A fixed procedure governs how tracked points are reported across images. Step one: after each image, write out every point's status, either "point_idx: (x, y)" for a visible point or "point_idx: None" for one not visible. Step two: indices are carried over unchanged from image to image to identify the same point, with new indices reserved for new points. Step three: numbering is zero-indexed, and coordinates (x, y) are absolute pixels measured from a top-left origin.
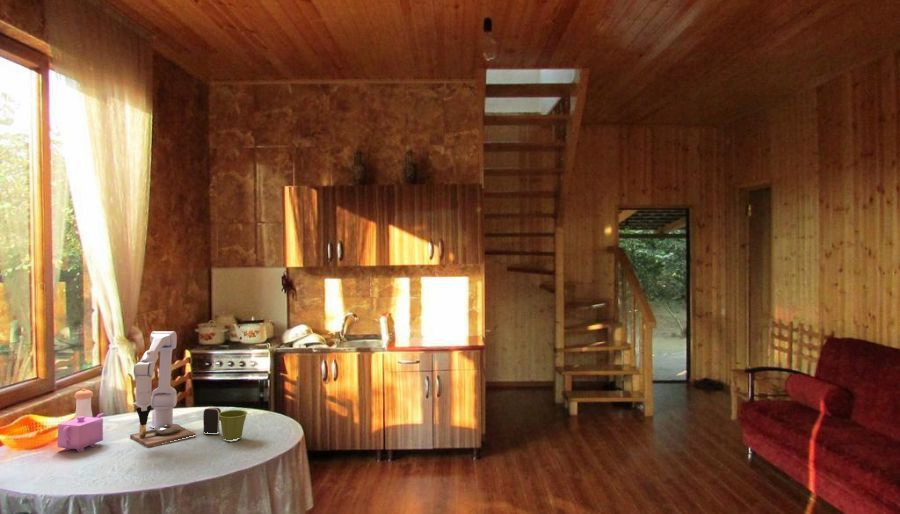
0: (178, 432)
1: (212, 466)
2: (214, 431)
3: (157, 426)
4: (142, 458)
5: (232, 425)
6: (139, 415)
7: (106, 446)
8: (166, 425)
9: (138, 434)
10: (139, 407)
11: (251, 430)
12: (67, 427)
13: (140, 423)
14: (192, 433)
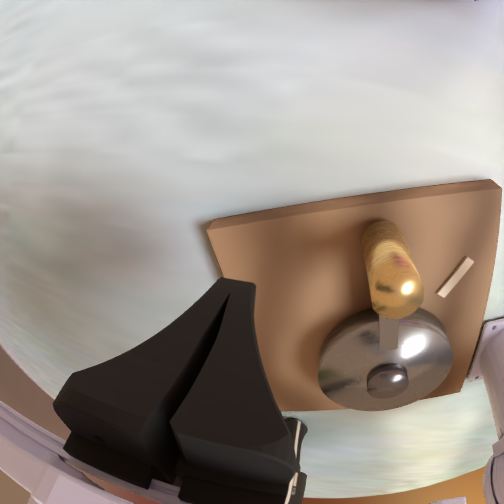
0: None
1: (2, 317)
2: None
3: (443, 346)
4: (55, 177)
5: None
6: (141, 351)
7: (392, 3)
8: (377, 384)
9: (469, 230)
10: (238, 472)
11: None
12: None
13: (212, 288)
14: (284, 405)
